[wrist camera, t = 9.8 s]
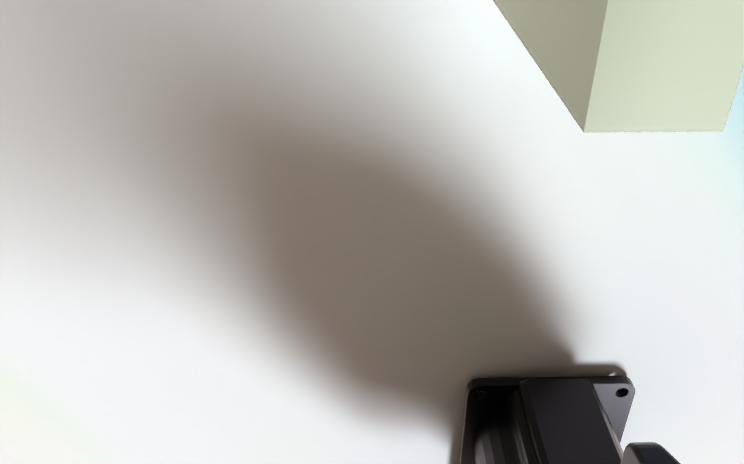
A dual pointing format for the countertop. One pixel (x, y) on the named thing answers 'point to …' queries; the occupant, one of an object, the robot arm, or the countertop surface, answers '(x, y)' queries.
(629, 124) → the green block
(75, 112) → the countertop surface
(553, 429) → the robot arm
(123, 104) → the countertop surface
